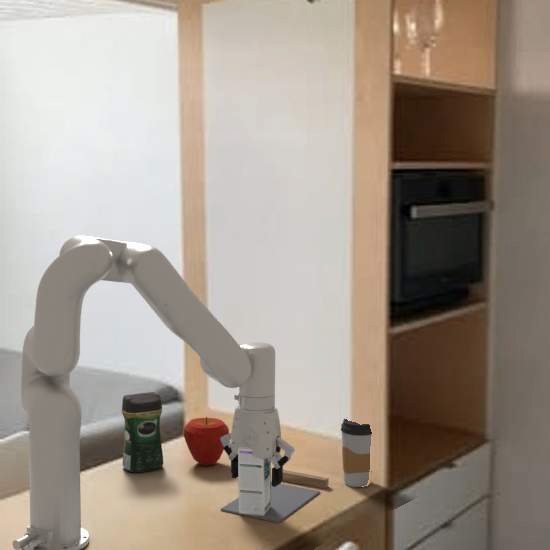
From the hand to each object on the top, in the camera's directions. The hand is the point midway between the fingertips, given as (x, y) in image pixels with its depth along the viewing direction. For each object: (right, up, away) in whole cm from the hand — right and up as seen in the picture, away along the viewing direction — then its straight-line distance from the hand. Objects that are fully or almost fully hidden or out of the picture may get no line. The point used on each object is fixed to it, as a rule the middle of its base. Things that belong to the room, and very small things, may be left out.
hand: (256, 480), depth 187 cm
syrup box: (0, -7, +1) cm, 7 cm away
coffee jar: (-28, -4, +28) cm, 40 cm away
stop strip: (+10, -5, +19) cm, 22 cm away
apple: (-13, -3, +31) cm, 34 cm away
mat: (+3, -6, +7) cm, 10 cm away
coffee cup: (+23, -5, +19) cm, 30 cm away
